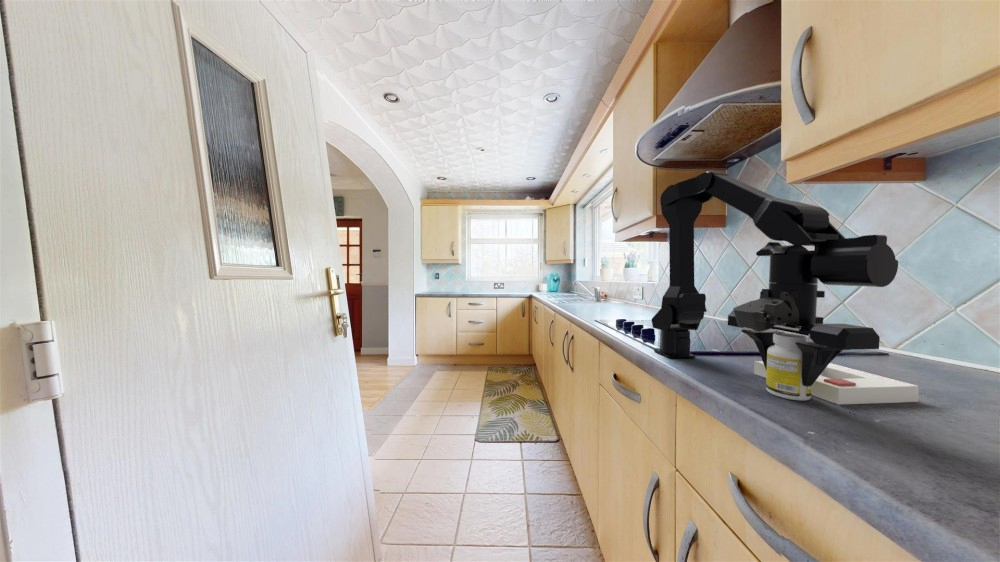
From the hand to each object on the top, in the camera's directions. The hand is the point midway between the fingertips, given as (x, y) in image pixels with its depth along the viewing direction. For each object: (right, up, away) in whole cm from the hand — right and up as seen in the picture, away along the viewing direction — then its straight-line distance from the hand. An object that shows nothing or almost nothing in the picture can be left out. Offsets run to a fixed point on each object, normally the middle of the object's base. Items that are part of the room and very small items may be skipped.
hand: (787, 379), depth 51 cm
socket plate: (+11, -3, +4) cm, 12 cm away
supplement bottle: (0, -3, 0) cm, 3 cm away
